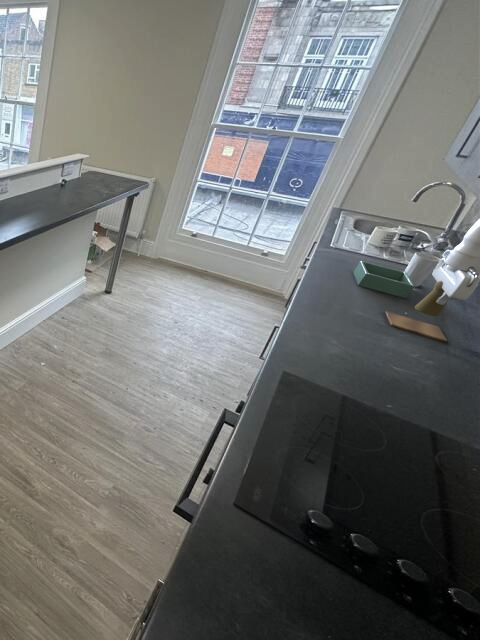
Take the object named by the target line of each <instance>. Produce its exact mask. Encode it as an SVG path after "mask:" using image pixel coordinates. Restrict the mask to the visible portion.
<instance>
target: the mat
mask: <svg viewBox="0 0 480 640" xmlns="http://www.w3.org/2000/svg"><path fill="white" fill-rule="evenodd" d="M384 313H385V315H386V318H387V321H388V322H389V324H390V326H392V327H395V328H398V329H401V330H405V331H407V332H411V333H415V334H418V335H421V336H425V337H428V338H431V339H435V340H436V341H437V340H438V341H441V342H444V343H447V342H448V339H447V338H446V335H444V333H443V331H442V330H441V328H440V326H438V325H434V324H431V323H428V322H424V321H420V320H418V319H414V318H410V317H407V316H404V315H401V314H396V313H393V312H390V311H385V312H384Z"/></svg>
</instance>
